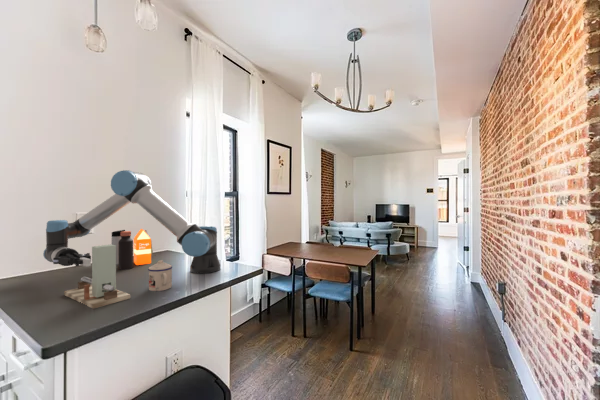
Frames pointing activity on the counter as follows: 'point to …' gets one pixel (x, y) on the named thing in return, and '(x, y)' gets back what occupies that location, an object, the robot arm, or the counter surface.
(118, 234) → the travel mug
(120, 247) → the vinegar
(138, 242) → the orange juice
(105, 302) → the rail base
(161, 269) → the teacup with lid
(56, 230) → the robot arm
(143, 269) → the counter surface
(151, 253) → the squeeze bottle
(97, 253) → the pale green block
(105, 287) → the steel rod
